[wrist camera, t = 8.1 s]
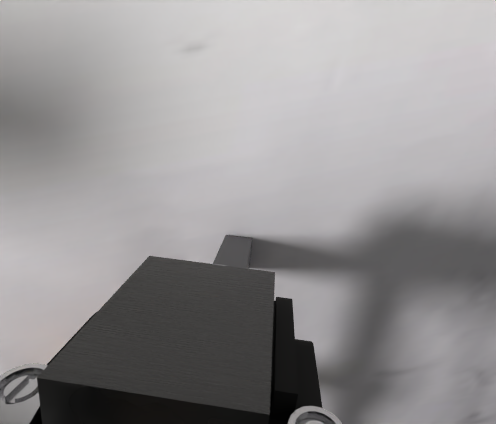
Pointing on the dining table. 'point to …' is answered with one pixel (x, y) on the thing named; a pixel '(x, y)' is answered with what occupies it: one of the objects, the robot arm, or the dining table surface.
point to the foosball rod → (169, 351)
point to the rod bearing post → (234, 252)
